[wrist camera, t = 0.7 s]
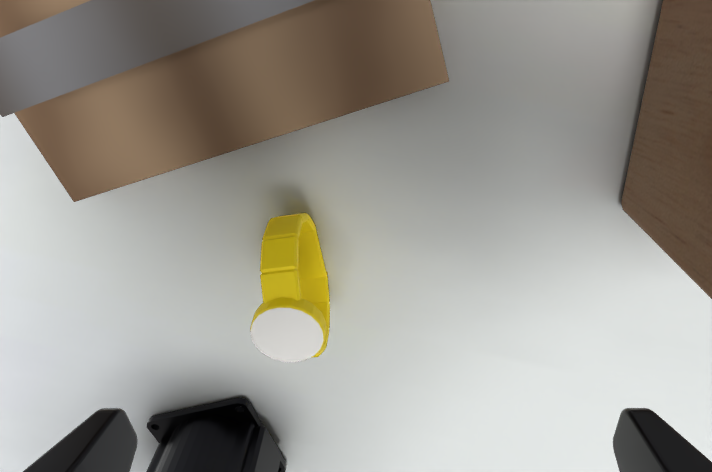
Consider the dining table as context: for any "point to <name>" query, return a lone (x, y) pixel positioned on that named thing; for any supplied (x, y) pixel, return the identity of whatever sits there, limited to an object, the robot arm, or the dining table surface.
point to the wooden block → (677, 141)
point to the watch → (292, 291)
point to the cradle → (198, 76)
